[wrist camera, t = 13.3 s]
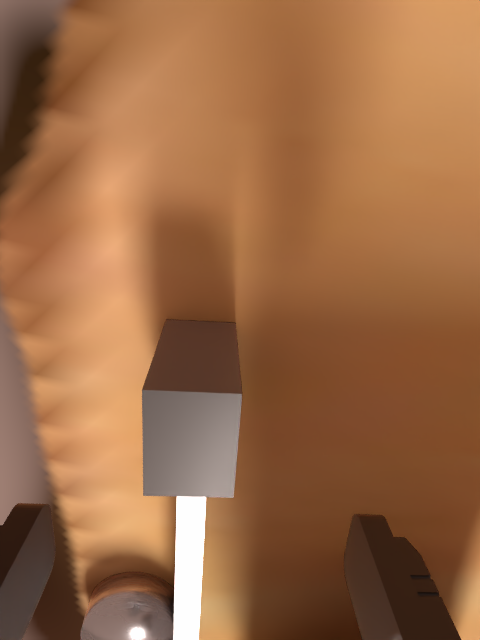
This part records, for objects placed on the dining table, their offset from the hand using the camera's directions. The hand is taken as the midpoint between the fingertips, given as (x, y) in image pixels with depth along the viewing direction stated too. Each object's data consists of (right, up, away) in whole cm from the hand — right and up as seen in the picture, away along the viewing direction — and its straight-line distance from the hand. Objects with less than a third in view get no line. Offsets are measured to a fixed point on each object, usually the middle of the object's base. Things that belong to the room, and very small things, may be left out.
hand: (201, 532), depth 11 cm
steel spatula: (-1, -4, +11) cm, 11 cm away
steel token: (-5, -11, +13) cm, 18 cm away
